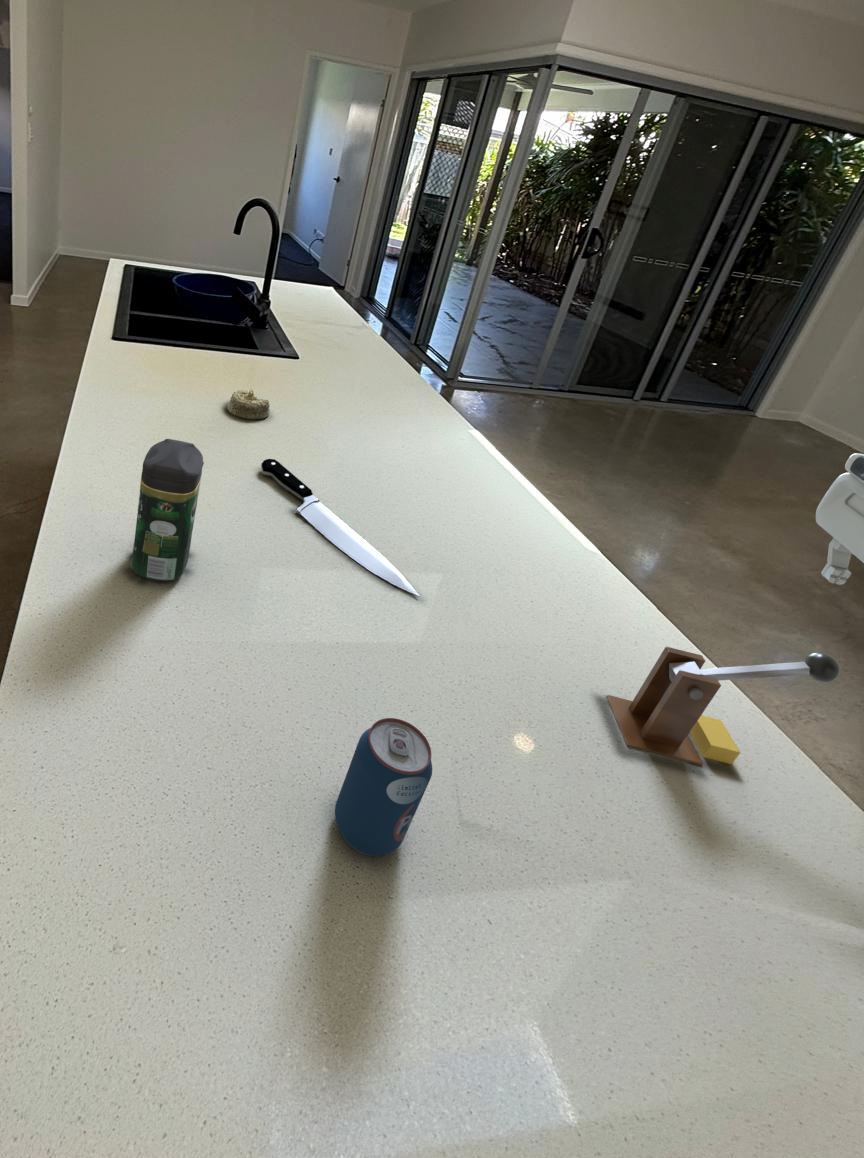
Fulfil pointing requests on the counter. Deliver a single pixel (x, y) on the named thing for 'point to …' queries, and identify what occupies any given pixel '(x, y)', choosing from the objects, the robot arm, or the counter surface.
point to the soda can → (383, 786)
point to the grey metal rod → (767, 669)
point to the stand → (666, 708)
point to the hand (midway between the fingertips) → (858, 606)
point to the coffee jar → (166, 510)
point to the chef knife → (335, 527)
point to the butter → (714, 740)
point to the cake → (248, 405)
